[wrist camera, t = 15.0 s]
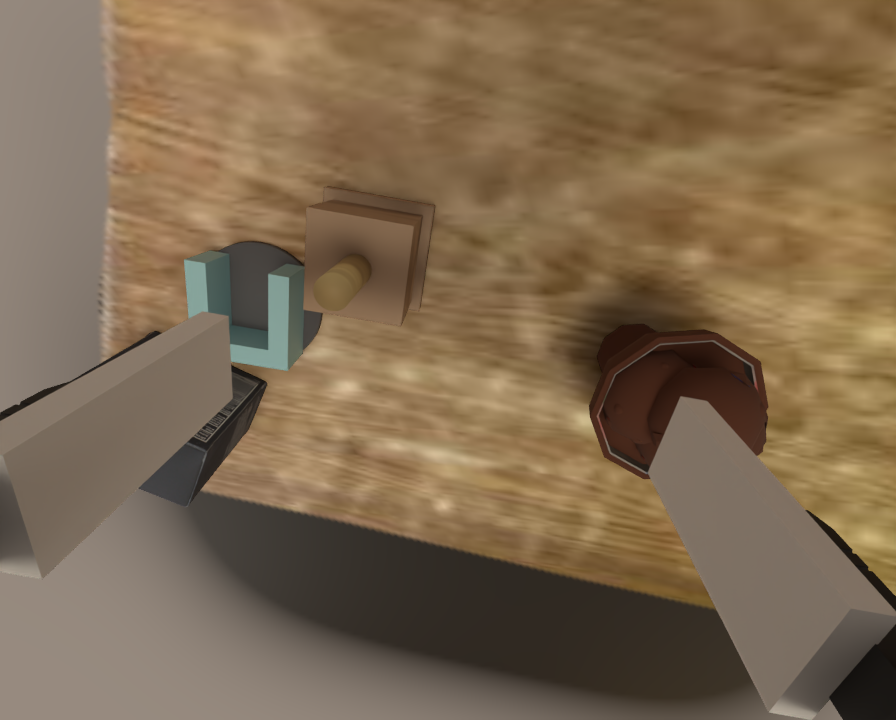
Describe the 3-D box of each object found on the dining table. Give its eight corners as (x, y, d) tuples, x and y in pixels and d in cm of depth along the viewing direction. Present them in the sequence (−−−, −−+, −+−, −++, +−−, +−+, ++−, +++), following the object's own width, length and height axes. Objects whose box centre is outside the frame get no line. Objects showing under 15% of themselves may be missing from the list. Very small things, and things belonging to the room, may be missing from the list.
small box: (138, 386, 41) (38, 455, 32) (153, 327, 39) (50, 383, 29) (248, 434, 43) (184, 513, 33) (269, 381, 41) (207, 450, 31)
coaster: (198, 231, 35) (194, 232, 35) (325, 253, 36) (323, 255, 35) (205, 347, 39) (201, 350, 39) (319, 366, 40) (317, 369, 39)
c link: (210, 250, 35) (184, 259, 32) (305, 266, 35) (289, 277, 32) (214, 338, 38) (191, 354, 35) (302, 353, 38) (287, 370, 35)
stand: (328, 186, 33) (255, 200, 22) (435, 205, 34) (417, 229, 22) (323, 290, 37) (257, 349, 25) (420, 306, 37) (398, 372, 26)
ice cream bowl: (538, 349, 38) (576, 456, 24) (656, 263, 35) (777, 330, 21) (609, 431, 41) (678, 568, 27) (723, 359, 38) (868, 474, 24)
